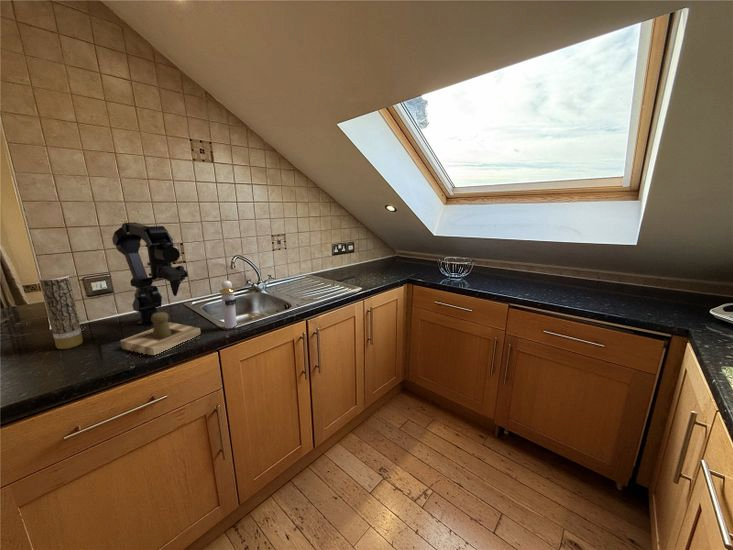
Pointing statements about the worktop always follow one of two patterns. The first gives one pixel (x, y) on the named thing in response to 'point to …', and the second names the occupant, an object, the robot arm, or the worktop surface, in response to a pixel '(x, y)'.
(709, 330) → the worktop surface
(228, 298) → the perfume bottle
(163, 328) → the cork
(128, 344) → the socket board
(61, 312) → the grey bark cylinder
